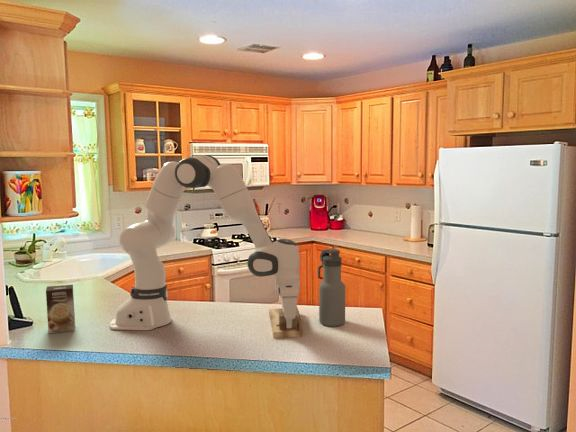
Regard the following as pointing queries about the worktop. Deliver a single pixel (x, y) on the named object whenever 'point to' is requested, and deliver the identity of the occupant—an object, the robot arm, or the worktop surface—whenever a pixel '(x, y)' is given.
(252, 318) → the worktop surface
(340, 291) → the water bottle
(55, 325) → the coffee box
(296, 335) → the board
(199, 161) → the robot arm
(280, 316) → the brown block
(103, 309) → the worktop surface
